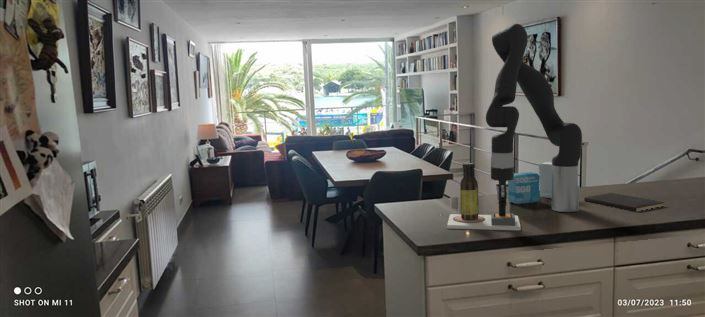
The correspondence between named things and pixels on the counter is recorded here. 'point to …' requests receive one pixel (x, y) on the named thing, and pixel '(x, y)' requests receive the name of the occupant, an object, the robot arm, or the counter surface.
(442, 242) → the counter surface
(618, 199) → the hardcover book
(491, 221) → the white control panel
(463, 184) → the sauce bottle
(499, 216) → the button
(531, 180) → the data package
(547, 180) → the skincare box
